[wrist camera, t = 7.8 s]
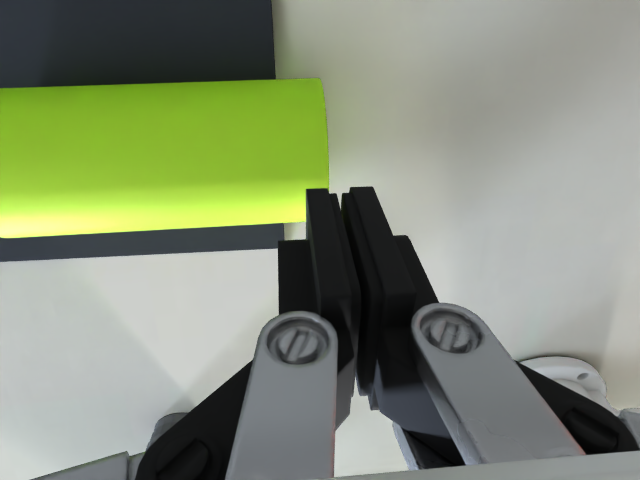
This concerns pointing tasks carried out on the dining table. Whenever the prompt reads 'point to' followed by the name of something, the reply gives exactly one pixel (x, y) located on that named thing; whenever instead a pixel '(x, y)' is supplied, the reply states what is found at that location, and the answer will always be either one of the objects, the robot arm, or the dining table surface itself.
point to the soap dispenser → (159, 155)
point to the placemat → (136, 68)
